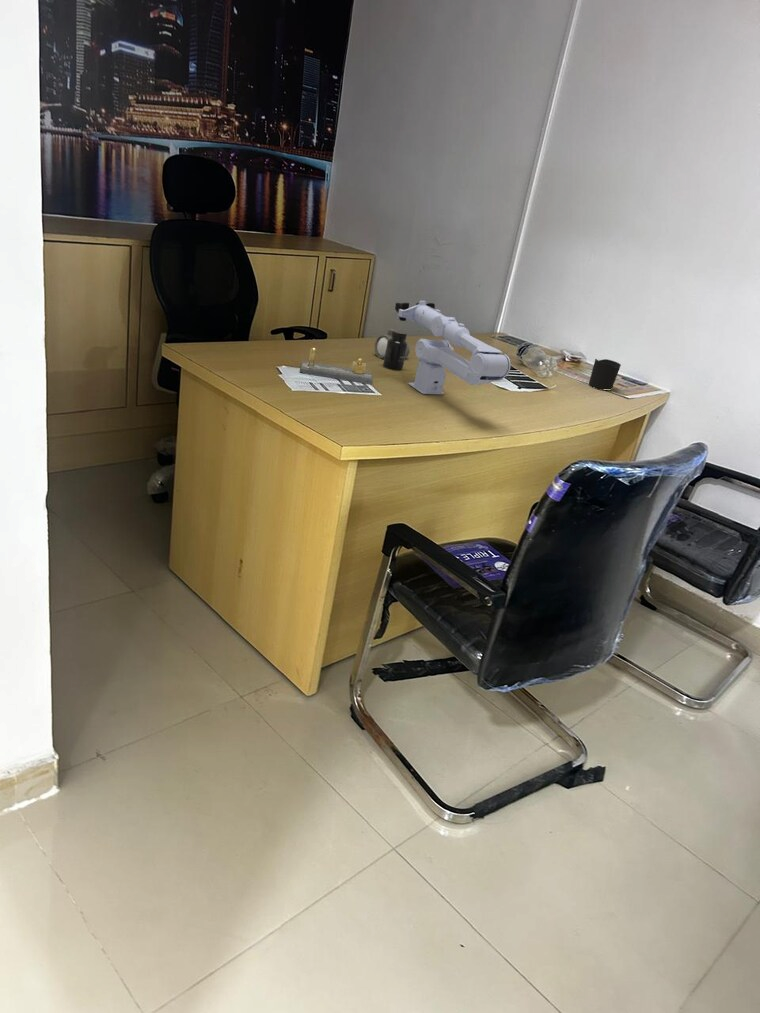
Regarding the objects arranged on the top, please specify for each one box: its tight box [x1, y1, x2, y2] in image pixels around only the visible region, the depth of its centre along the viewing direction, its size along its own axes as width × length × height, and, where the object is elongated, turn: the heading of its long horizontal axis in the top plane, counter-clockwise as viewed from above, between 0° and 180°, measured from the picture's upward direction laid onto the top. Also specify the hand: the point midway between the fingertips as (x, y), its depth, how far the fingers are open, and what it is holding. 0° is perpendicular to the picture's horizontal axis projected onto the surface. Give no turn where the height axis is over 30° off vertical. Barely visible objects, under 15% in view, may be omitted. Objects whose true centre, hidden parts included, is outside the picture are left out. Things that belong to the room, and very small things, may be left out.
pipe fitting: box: [374, 328, 411, 359], centre depth 254 cm, size 12×8×10 cm
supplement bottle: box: [383, 329, 407, 371], centre depth 241 cm, size 7×7×12 cm
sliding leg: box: [351, 357, 367, 374], centre depth 222 cm, size 4×6×4 cm, turn 3°
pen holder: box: [588, 358, 622, 390], centre depth 271 cm, size 9×9×10 cm
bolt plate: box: [299, 347, 373, 385], centre depth 222 cm, size 22×10×7 cm, turn 93°
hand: (406, 306), depth 232 cm, fingers open, 7 cm apart
